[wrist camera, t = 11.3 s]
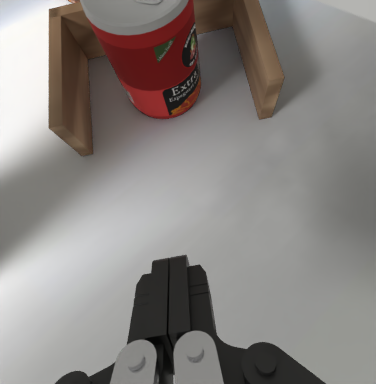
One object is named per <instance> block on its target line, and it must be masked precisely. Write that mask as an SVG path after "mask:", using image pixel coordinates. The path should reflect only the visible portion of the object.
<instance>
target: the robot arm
mask: <svg viewBox="0 0 376 384" xmlns="http://www.w3.org/2000/svg"><path fill="white" fill-rule="evenodd" d="M173 375H175V383H176V384H326V383H324V382H323V381H322V380H320V379H319V378H318V377H316V376H315V375H314V374H313V373H311V372H310V371H309V370H307V369H306V368H305V367H303V366H302V365H301V364H299V363H298V362H297V361H296V360H294V359H293V358H292V357H290V356H289V355H288V354H286V353H285V352H284V351H282V350H281V349H280V348H278V347H277V346H275V345H273V344H270V343H266V342H259V343H255V344H253V345H251V346H250V347H249V348H248V349H243V348H237V347H233V346H230V345H227V344H226V343H224V342H223V341H222V340H220V338H219V337H218V336H217V333H216V326H215V320H214V313H213V307H212V300H211V294H210V290H209V285H208V280H207V276H206V272H205V271H204V270H203V268H202V267H201V266H200V265H195V266H189V262H188V258H187V255H182V256H176V257H171V258H165V259H160V260H154V261H153V262H152V271H151V273H150V274H144V275H142V277H141V279H140V280H139V282H138V284H137V286H136V292H135V298H134V307H133V311H132V317H131V323H130V330H129V336H128V342H127V345H126V346H125V347H124V348H123V349H122V350H121V352H120V353H119V355H118V357H117V359H116V362H115V363H113V364H112V365H111V366H109V367H107V368H105V369H103V370H101V371H100V372H98V373H96V374H94V375H92V376H90V377H88V376H87V374H85V373H84V372H81V371H74V372H70V373H68V374H66V375H64V376H63V377H62V378H60V379H59V380H58V381H57V382H56V383H55V384H173Z"/></svg>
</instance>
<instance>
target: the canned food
mask: <svg viewBox="0 0 376 384" xmlns="http://www.w3.org/2000/svg"><path fill="white" fill-rule="evenodd" d="M80 2H81V5H82V7H83V10H84V12H85V14H86V17H87V19H88V21H89V22H90V24H91V26H92V29H93V31H94V33H95V35H96V36H97V38H98V40H99V42H100V44H101V46H102V48H103V50H104V52H105V54H106V55H107V57H108V59H109V61H110V63H111V65H112V67H113V69H114V71H115V73H116V74H117V76H118V78H119V80H120V82H121V84H122V86H123V88H124V90H125V91H126V93H127V95H128V97H129V99H130V101H131V102H132V104H133V105H134V106H135V107H136V108H137V109H138V110H140V111H141V112H142V113H144V114H145V115H147V116H149V117H153V118H158V119H169V118H173V117H177V116H179V115H181V114H183V113H185V112H186V111H188V110H189V109H190V108H191V107H192V106H193V104H194V103H195V101H196V99H197V97H198V94H199V92H200V87H201V78H200V67H199V56H198V46H197V35H196V24H195V13H194V3H193V0H80Z"/></svg>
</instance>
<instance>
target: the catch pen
mask: <svg viewBox="0 0 376 384" xmlns="http://www.w3.org/2000/svg"><path fill="white" fill-rule="evenodd" d="M193 3H194V13H195V24H196V35H197V34H201V33H205V32H210V31H214V30H218V29H223V28H227V27H232V26H233V30H234V33H235V37H236V40H237V44H238V47H239V51H240V54H241V58H242V61H243V65H244V68H245V72H246V75H247V79H248V82H249V86H250V89H251V93H252V96H253V100H254V103H255V107H256V110H257V114H258V117H259V120H260V119H264V118H269V117H272V114H273V111H274V108H275V105H276V102H277V99H278V96H279V93H280V90H281V87H282V84H283V81H284V78H285V77H284V74H283V71H282V68H281V66H280V63H279V60H278V57H277V54H276V51H275V48H274V45H273V42H272V39H271V36H270V33H269V30H268V27H267V24H266V22H265V19H264V16H263V13H262V10H261V7H260V4H259V1H258V0H193ZM105 55H106V54H105V52H104V50H103V48H102V46H101V44H100V42H99V40H98V38H97V36H96V35H95V33H94V31H93V29H92V26H91V24H90V22H89V21H88V19H87V17H86V14H85V12H84V10H83V7H82V5H81V2H77V3H73V4H69V5H65V6H61V7H57V8H52V9H49V129H50V130H52V131H53V132H54V133H55V134H56V135H58V136H59V137H60V138H61V139H62V140H63V141H65V142H66V143H67V144H68V145H69V146H71V147H72V148H73V149H74V150H75V151H76V152H78V153H79V154H80V155H81V156H85V155H90V154H93V143H92V125H91V108H90V90H89V72H88V59H92V58H96V57H100V56H105Z"/></svg>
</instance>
